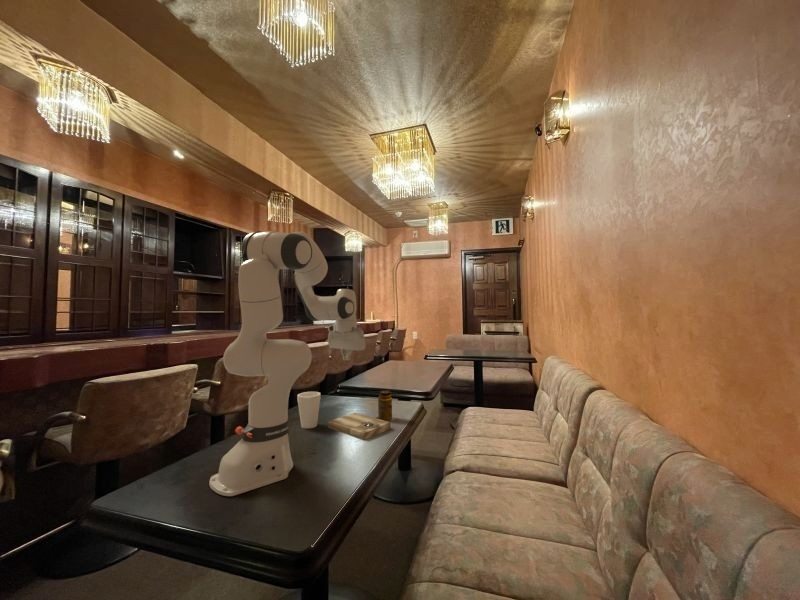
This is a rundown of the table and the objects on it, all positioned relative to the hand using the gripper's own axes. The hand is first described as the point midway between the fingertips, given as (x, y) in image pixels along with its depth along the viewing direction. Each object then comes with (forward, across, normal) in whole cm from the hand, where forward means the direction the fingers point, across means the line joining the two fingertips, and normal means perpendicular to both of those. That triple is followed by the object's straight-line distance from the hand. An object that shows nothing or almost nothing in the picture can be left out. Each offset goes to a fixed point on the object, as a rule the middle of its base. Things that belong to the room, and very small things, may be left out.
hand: (346, 359), depth 139 cm
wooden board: (+27, -8, 0) cm, 28 cm away
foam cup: (+27, +11, +11) cm, 31 cm away
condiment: (+27, -8, -14) cm, 32 cm away
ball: (+25, -14, 0) cm, 29 cm away
